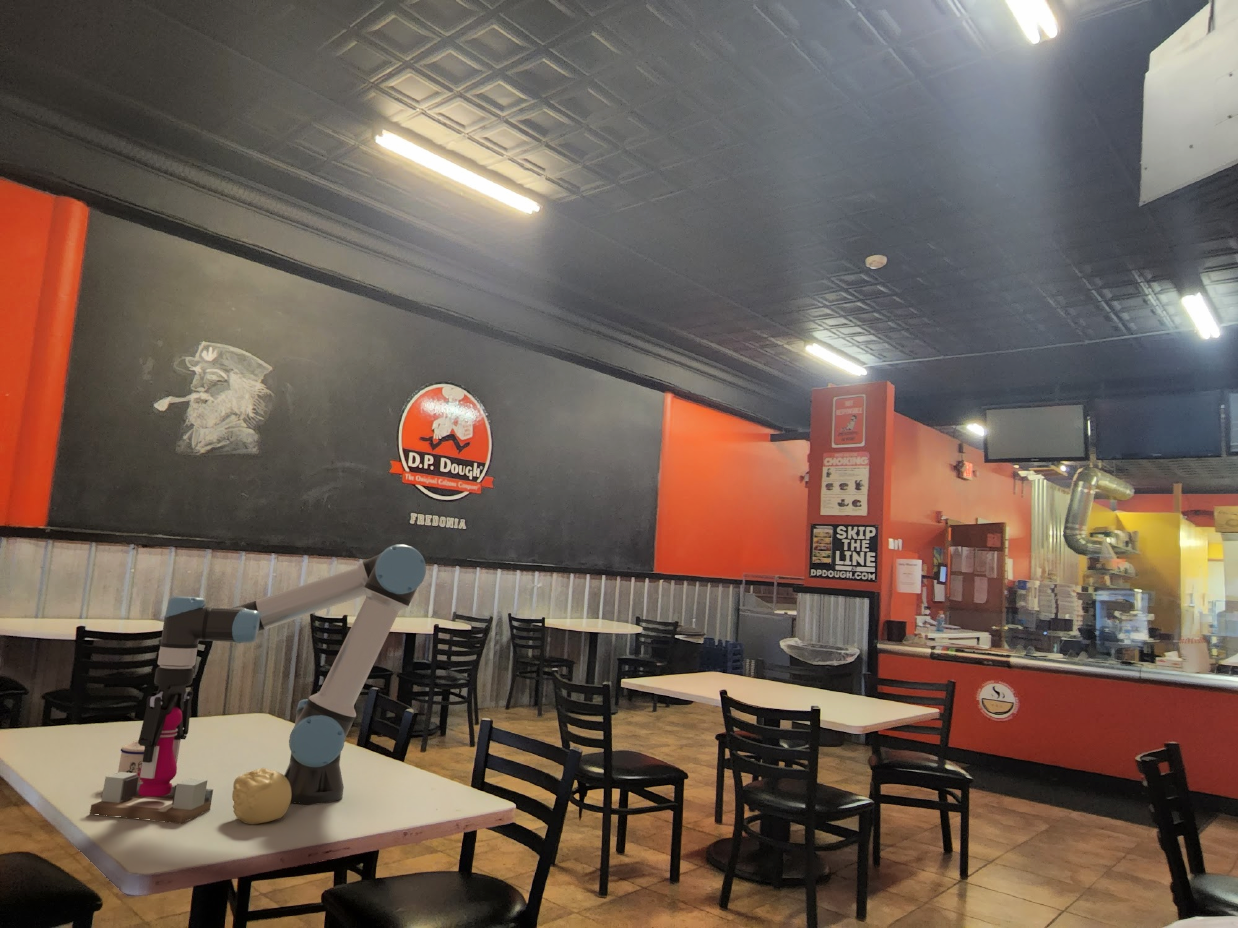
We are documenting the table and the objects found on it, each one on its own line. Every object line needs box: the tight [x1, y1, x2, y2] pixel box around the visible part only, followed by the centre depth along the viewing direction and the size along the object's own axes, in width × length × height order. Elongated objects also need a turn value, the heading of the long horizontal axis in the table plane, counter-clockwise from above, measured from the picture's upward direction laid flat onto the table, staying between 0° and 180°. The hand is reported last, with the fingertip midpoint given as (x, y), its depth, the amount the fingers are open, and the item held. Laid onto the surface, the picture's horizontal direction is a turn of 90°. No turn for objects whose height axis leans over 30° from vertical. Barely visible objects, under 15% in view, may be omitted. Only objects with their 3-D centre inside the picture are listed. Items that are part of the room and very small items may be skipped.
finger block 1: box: [101, 772, 139, 803], centre depth 175 cm, size 5×5×5 cm
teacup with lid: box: [117, 739, 145, 783], centre depth 196 cm, size 12×9×12 cm
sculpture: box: [231, 767, 292, 825], centre depth 176 cm, size 12×12×11 cm
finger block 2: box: [172, 778, 208, 810], centre depth 174 cm, size 5×5×5 cm
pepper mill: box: [138, 707, 182, 797], centre depth 176 cm, size 7×7×20 cm
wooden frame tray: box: [89, 795, 212, 824], centre depth 174 cm, size 20×11×2 cm, turn 87°
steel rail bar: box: [136, 782, 214, 802], centre depth 180 cm, size 20×1×2 cm, turn 87°
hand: (158, 773), depth 175 cm, fingers closed on pepper mill, 7 cm apart
